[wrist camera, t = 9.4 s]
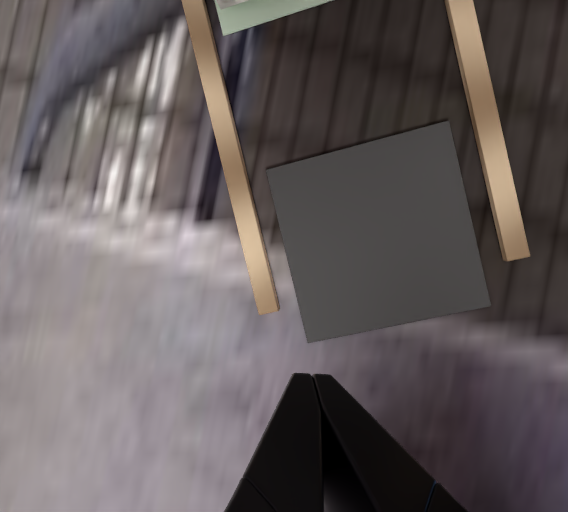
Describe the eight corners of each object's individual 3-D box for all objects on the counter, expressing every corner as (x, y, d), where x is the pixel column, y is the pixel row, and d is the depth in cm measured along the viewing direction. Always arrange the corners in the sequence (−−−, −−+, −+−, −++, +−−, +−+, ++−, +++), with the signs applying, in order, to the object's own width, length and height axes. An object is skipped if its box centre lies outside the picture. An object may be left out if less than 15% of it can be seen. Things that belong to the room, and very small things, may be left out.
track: (525, 255, 21) (530, 256, 20) (261, 312, 23) (259, 315, 23) (394, -328, 20) (395, -345, 20) (132, -214, 22) (126, -226, 22)
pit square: (490, 305, 21) (491, 306, 21) (308, 342, 23) (307, 343, 23) (448, 121, 21) (448, 120, 21) (266, 170, 23) (265, 170, 23)
